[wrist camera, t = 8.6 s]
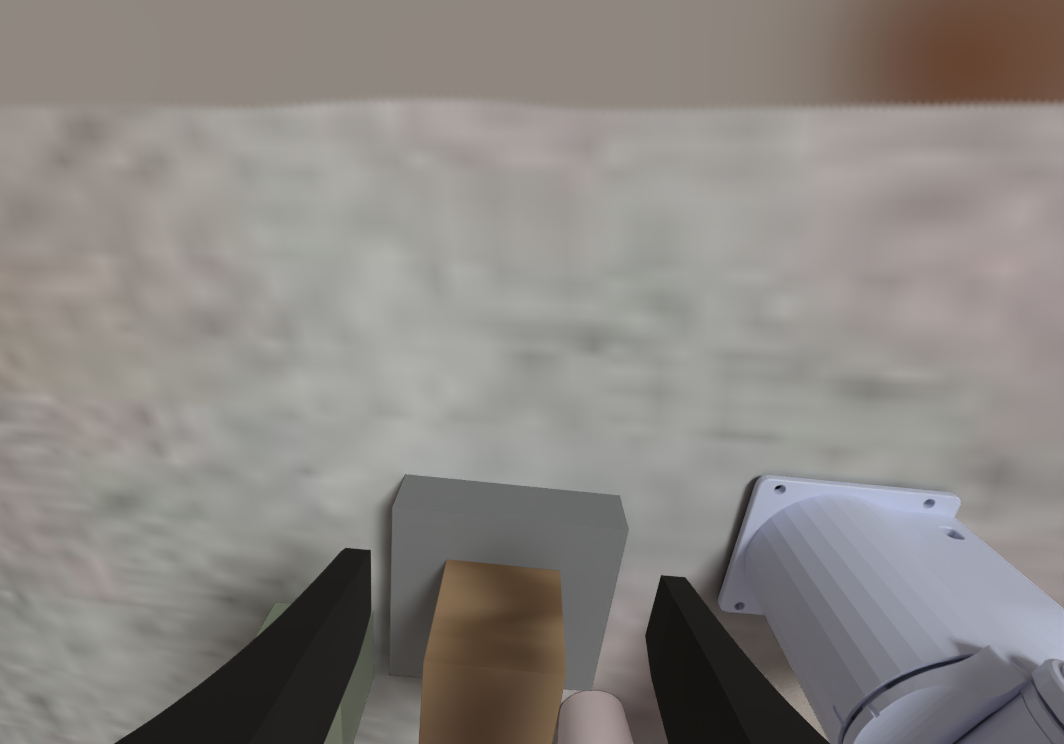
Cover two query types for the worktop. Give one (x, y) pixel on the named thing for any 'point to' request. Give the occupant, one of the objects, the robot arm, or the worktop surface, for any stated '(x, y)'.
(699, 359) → the worktop surface
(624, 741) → the smoothie
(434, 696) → the walnut cube
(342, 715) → the sage block
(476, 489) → the charcoal slab
